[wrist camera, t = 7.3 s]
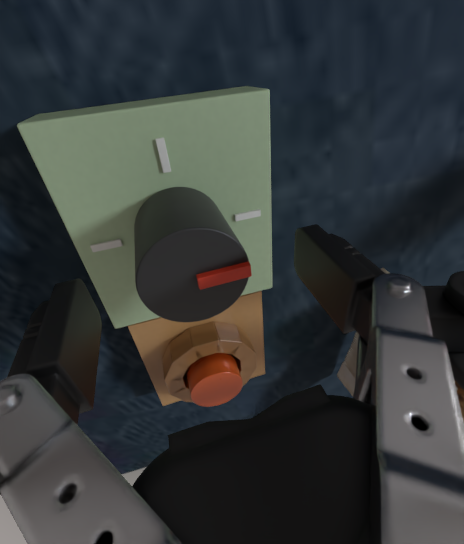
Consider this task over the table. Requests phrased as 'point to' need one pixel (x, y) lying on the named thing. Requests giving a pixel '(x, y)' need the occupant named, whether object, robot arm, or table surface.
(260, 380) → the table surface
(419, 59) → the table surface
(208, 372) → the button
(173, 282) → the knob
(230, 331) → the button box
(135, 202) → the green dial box
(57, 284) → the robot arm
